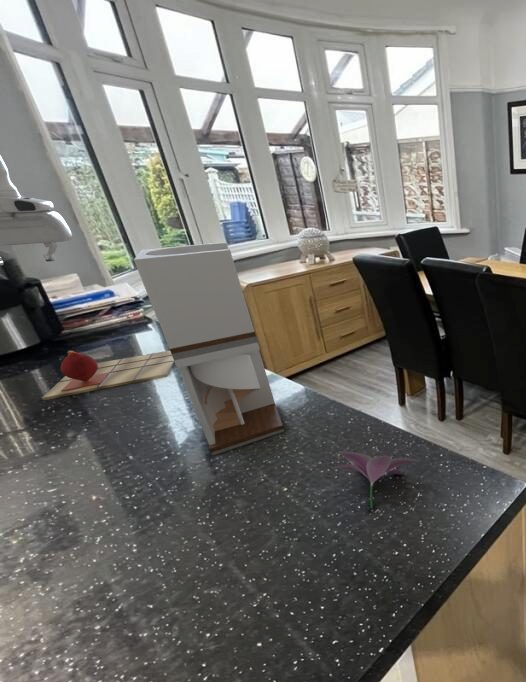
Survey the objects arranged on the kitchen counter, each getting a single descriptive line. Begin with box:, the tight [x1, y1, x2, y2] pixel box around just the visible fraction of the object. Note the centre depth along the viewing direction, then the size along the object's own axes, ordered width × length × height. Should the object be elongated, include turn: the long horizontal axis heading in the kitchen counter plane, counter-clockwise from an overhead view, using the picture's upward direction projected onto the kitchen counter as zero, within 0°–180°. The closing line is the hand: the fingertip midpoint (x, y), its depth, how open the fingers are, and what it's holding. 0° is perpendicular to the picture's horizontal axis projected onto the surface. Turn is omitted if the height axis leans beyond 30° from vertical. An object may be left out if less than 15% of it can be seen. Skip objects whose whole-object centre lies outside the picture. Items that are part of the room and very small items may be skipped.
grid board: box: [41, 350, 175, 401], centre depth 100 cm, size 22×18×2 cm
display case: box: [133, 241, 285, 456], centre depth 69 cm, size 11×11×35 cm
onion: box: [60, 350, 98, 381], centre depth 93 cm, size 6×6×8 cm
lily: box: [331, 450, 422, 509], centre depth 59 cm, size 12×12×10 cm
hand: (25, 263), depth 98 cm, fingers open, 8 cm apart
